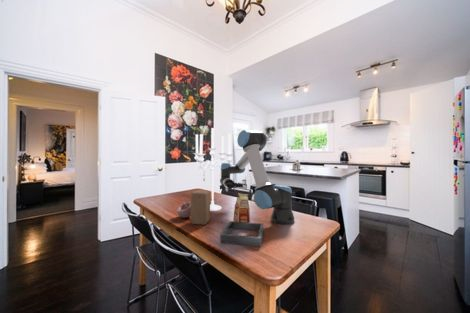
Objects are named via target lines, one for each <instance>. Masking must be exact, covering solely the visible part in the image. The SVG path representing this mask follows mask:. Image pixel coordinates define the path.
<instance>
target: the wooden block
mask: <svg viewBox="0 0 470 313" xmlns="http://www.w3.org/2000/svg"><path fill="white" fill-rule="evenodd" d="M190 202H191V216H190V224H191V225H202V226H203V225H206V224H207V223H209V221H210V220H211V191H210V190H207V189H206V190H205V189H204V190H201V189H197V190H193V192H191V193H190Z"/></svg>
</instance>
